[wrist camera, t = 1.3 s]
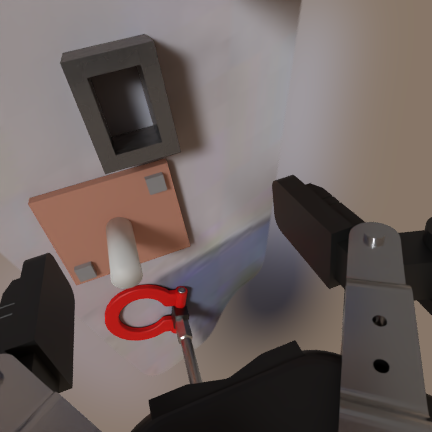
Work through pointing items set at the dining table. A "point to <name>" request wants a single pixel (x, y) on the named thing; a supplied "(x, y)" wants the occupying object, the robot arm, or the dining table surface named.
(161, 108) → the grey hollow block
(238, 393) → the robot arm
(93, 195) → the keeper plate
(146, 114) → the dining table surface
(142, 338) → the tow hook
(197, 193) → the dining table surface
